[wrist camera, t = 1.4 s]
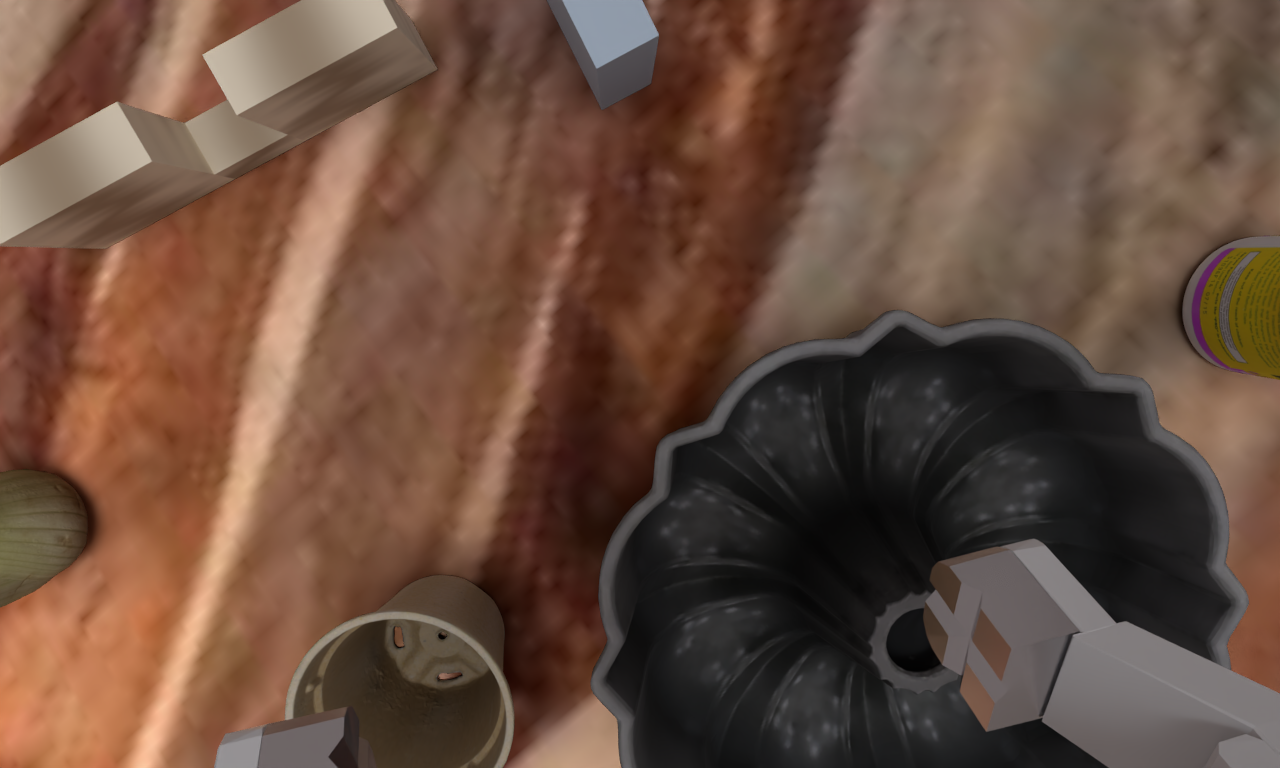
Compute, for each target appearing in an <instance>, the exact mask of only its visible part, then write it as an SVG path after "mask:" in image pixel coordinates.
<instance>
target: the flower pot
mask: <svg viewBox="0 0 1280 768" xmlns="http://www.w3.org/2000/svg"><path fill="white" fill-rule="evenodd" d="M395 626H396V627H401V629H402V634H403V642H404V645H405V646H404V647H402V648H397V647H396V645H395V644H394V627H395ZM441 632H445V633H446V634H447V637H446V638H445V639H440V638H439V637H438V634H439V633H441ZM504 639H505V629H504V623H503V619H502V616H501V614H500V611H499V609H498V607H497V605H496V604H495V602H494V601H493V600H492V598H490V597H489V596H488V595H487V594H486V593H485V592H483V591H482V590H481V589H480V588H478V587H477V586H475V585H474V584H472V583H471V582H469V581H468V580H466V579H463V578H459V577H455V576H447V575H436V576H430V577H425V578H422V579H419V580H417V581H414V582H412V583H411V584H409V585H407V586H406V587H404V588H403V589H402V590H401V591H399V592H398V593H397V594H396V595H395V596H394V597H393V598H392V599H391V600H389V601H388V602H387V603H386V604H385V605H383V606H382V607H381V608H380V609H378V610H377V611H376V612H372V613H368V614H364V615H361V616H358V617H355V618H353V619H351V620H348V621H346V622H344V623H342V624H340V625H339V626H337V627H335V628H334V629H332V630H331V631H330V632H328V633H327V634H326V635H324V636H323V637H322V638H321V639H320V640H319V641H318V642H317V643H316V644H315V645H314V646H313V647H312V648H311V649H310V650H309V651H308V653H307V654H306V655H305V656H304V658H303V659H302V661H301V663H300V664H299V666H298V668H297V669H296V671H295V673H294V676H293V678H292V681H291V684H290V686H289V690H288V694H287V699H286V707H285V720H289V719H293V718H298V717H303V716H307V715H312V714H316V713H321V712H325V711H330V710H334V709H339V708H343V707H348V706H352V707H353V709H354V711H355V713H356V715H357V717H358V719H359V737H361V738H363V739H365V740H368V741H369V744H370V746H371V748H372V751H373V754H374V758H375V762H376V766H377V768H503V766H504V764H505V762H506V761H507V757H508V755H509V751H510V748H511V744H512V739H513V733H514V705H513V700H512V695H511V691H510V688H509V685H508V682H507V680H506V678H505V676H504V673H503V654H504ZM454 672H461V673H462V676H459V677H457V678H456V679H450V680H439V679H437V677H438V675H439V674H440V673H454Z"/></svg>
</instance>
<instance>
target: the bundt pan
mask: <svg viewBox="0 0 1280 768" xmlns="http://www.w3.org/2000/svg"><path fill="white" fill-rule="evenodd" d="M1029 539H1036V540H1038V541H1040V542H1042V543H1043V544H1044V545H1045V546H1046V547H1047V548H1048V549H1049V550H1050V551H1051V552H1052V553H1053V554H1054V556H1055V557H1056V558H1057V559H1058V560H1059V561H1060V562H1061V563H1062V564H1063V565H1064V566H1065V568H1066V569H1067V570H1068V571H1069V572H1070V573H1071V574H1072V575H1073V576H1074V577H1075V578H1076V580H1077V581H1078V582H1079V583H1080V584H1081V585H1082V586H1083V587H1084V588H1085V589H1086V591H1087V592H1088V593H1089V594H1090V595H1091V596H1092V597H1093V598H1094V599H1095V600H1096V601H1097V603H1098V604H1099V605H1100V606H1101V607H1102V608H1103V609H1104V610H1105V611H1106V612H1107V613H1108V615H1109V616H1110V617H1111V618H1112V619H1113V620H1114V621H1115V622H1116V623H1119V622H1124V621H1127V622H1129V623H1131V624H1133V625H1135V626H1137V627H1139V628H1142V629H1144V630H1146V631H1148V632H1150V633H1152V634H1154V635H1156V636H1159V637H1161V638H1163V639H1165V640H1167V641H1169V642H1171V643H1173V644H1176V645H1178V646H1180V647H1182V648H1184V649H1186V650H1188V651H1190V652H1193V653H1195V654H1197V655H1199V656H1201V657H1203V658H1205V659H1207V660H1210V661H1212V662H1214V663H1216V664H1218V665H1220V666H1222V667H1224V668H1227V669H1229V670H1231V664H1230V657H1229V653H1228V649H1227V643H1228V641H1229V638H1230V636H1231V634H1232V633H1233V631H1234V629H1235V628H1236V626H1237V625H1238V623H1239V621H1240V620H1241V618H1242V617H1243V615H1244V613H1245V611H1246V609H1247V607H1248V604H1249V600H1248V595H1247V593H1246V591H1245V589H1244V588H1243V586H1242V585H1241V583H1240V582H1239V581H1238V579H1237V578H1236V577H1235V575H1234V574H1233V573H1232V571H1231V570H1230V569H1229V568H1228V566H1227V564H1226V556H1227V550H1228V543H1229V518H1228V510H1227V506H1226V501H1225V497H1224V494H1223V491H1222V488H1221V486H1220V483H1219V481H1218V479H1217V477H1216V476H1215V474H1214V472H1213V471H1212V469H1211V467H1210V466H1209V464H1208V463H1207V462H1206V460H1205V459H1204V458H1203V457H1202V456H1201V455H1200V454H1199V453H1198V452H1197V450H1196V449H1195V448H1194V447H1192V446H1191V445H1190V444H1188V443H1187V442H1186V441H1184V440H1183V439H1181V438H1180V437H1178V436H1177V435H1175V434H1173V433H1171V432H1170V431H1168V430H1166V429H1164V428H1163V427H1162V426H1161V425H1160V423H1159V418H1158V413H1157V408H1156V404H1155V400H1154V395H1153V392H1152V389H1151V387H1150V385H1149V384H1148V383H1147V382H1146V381H1145V380H1143V379H1142V378H1139V377H1135V376H1130V375H1122V374H1107V373H1098V372H1096V371H1095V370H1094V368H1093V367H1092V366H1091V364H1090V363H1089V362H1088V360H1087V359H1086V358H1085V357H1084V356H1083V355H1082V354H1081V353H1080V352H1079V351H1078V350H1077V349H1076V348H1075V347H1074V346H1072V345H1071V344H1070V343H1069V342H1067V341H1066V340H1064V339H1062V338H1061V337H1059V336H1057V335H1056V334H1054V333H1052V332H1050V331H1048V330H1046V329H1044V328H1042V327H1040V326H1036V325H1033V324H1030V323H1026V322H1023V321H1017V320H1009V319H991V318H990V319H975V320H969V321H965V322H961V323H956V324H953V325H949V326H945V327H938V326H936V325H933V324H931V323H929V322H927V321H925V320H923V319H921V318H919V317H918V316H916V315H914V314H912V313H909V312H907V311H903V310H892V311H888V312H885V313H883V314H882V315H881V316H879V317H878V318H877V319H876V320H874V321H873V322H872V323H870V324H869V325H868V326H867V327H866V328H864V329H862V330H859V331H855V332H852V333H851V334H849V335H848V336H847V337H846V338H843V339H815V340H809V341H804V342H798V343H794V344H791V345H788V346H784V347H782V348H780V349H777V350H775V351H773V352H771V353H768V354H766V355H765V356H763V357H762V358H760V359H759V360H757V361H756V362H754V363H753V364H751V365H750V366H748V367H747V368H746V369H745V370H744V371H742V372H741V373H740V374H739V375H738V376H737V377H736V378H735V379H734V380H733V381H732V382H731V383H730V384H729V386H728V387H727V388H726V390H725V391H724V392H723V394H722V395H721V396H720V398H719V399H718V401H717V402H716V404H715V406H714V408H713V410H712V411H711V413H710V415H709V417H708V418H707V419H706V420H705V421H704V422H701V423H698V424H694V425H691V426H687V427H684V428H681V429H678V430H677V431H675V432H672V433H670V434H668V435H666V436H665V437H664V438H663V439H661V440H660V442H659V444H658V445H657V448H656V455H655V463H654V477H653V484H652V488H651V490H650V491H649V492H648V494H647V495H645V496H644V497H643V498H642V499H640V500H639V501H638V502H637V503H635V504H634V505H633V506H632V508H631V509H630V510H629V511H628V512H627V513H626V515H625V516H624V517H623V518H622V520H621V522H620V523H619V525H618V526H617V528H616V529H615V531H614V532H613V534H612V536H611V539H610V541H609V543H608V545H607V548H606V551H605V554H604V557H603V560H602V565H601V571H600V577H599V593H598V598H599V606H600V614H601V618H602V622H603V626H604V629H605V632H606V635H607V638H608V641H607V643H606V645H605V648H604V650H603V652H602V654H601V656H600V657H599V659H598V661H597V663H596V665H595V667H594V669H593V672H592V678H591V689H592V691H593V694H594V695H595V696H596V697H597V698H598V699H599V700H600V702H601V703H602V704H603V705H604V706H605V707H606V708H607V709H608V710H609V711H610V712H611V713H612V714H613V715H614V716H615V717H616V719H617V722H618V746H619V757H620V763H621V767H622V768H1109V767H1107V766H1106V765H1104V764H1103V763H1101V762H1100V761H1099V760H1097V759H1096V758H1094V757H1093V756H1091V755H1090V754H1088V753H1087V752H1085V751H1084V750H1083V749H1081V748H1080V747H1078V746H1077V745H1075V744H1074V743H1072V742H1071V741H1069V740H1068V739H1067V738H1065V737H1064V736H1062V735H1061V734H1059V733H1058V732H1056V731H1055V730H1054V729H1052V728H1051V727H1049V726H1048V725H1046V724H1045V723H1043V722H1042V719H1043V718H1040V719H1036V720H1032V721H1028V722H1024V723H1020V724H1016V725H1012V726H1008V727H1004V728H1000V729H996V730H992V731H988V732H986V731H985V729H984V728H983V726H982V725H981V723H980V722H979V720H978V719H977V717H976V716H975V714H974V713H973V711H972V709H971V708H970V706H969V705H968V703H967V702H966V700H965V699H964V697H963V696H962V694H961V693H960V680H961V675H959V674H957V673H956V672H954V671H952V670H950V669H949V668H947V667H945V666H943V665H942V664H941V662H940V660H939V659H938V657H937V656H936V654H935V652H934V651H933V649H932V647H931V644H930V642H929V640H928V638H927V635H926V630H925V625H924V620H923V614H924V607H925V601H926V600H927V599H928V598H929V597H930V595H931V594H932V593H933V592H934V591H935V590H936V589H935V587H934V586H933V584H932V583H931V582H930V576H931V571H932V568H933V567H934V565H935V564H936V563H937V562H939V561H943V560H947V559H950V558H954V557H958V556H962V555H966V554H970V553H973V552H977V551H981V550H985V549H989V548H993V547H1001V546H1005V545H1009V544H1013V543H1016V542H1020V541H1024V540H1029Z"/></svg>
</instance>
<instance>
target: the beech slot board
mask: <svg viewBox="0 0 1280 768" xmlns="http://www.w3.org/2000/svg"><path fill="white" fill-rule="evenodd" d="M203 57H204V59H205V60H206V62H207V64H208V66H209V67H210V69H211V71H212V73H213V74H214V76H215V78H216V80H217V81H218V83H219V85H220V87H221V88H222V90H223V92H224V94H225V95H226V97H227V99H228V100H226V101H224V102H222V103H221V104H219V105H217V106H215V107H213V108H211V109H210V110H208V111H206V112H204V113H202V114H201V115H199V116H197V117H195V118H193V119H191V120H190V121H188V122H186V123H183V122H179V121H176V120H173V119H170V118H167V117H164V116H160V115H157V114H154V113H151V112H148V111H145V110H141V109H138V108H135V107H132V106H129V105H126V104H122V103H119V102H116V103H114V104H112V105H110V106H108V107H107V108H105V109H103V110H101V111H99V112H97V113H96V114H94V115H92V116H90V117H88V118H87V119H85V120H83V121H81V122H79V123H77V124H76V125H74V126H72V127H70V128H68V129H67V130H65V131H63V132H61V133H59V134H58V135H56V136H54V137H52V138H50V139H48V140H47V141H45V142H43V143H41V144H39V145H38V146H36V147H34V148H32V149H30V150H28V151H27V152H25V153H23V154H21V155H19V156H18V157H16V158H14V159H12V160H10V161H8V162H7V163H5V164H3V165H1V166H0V246H11V247H53V248H96V249H106V248H108V247H110V246H112V245H114V244H116V243H118V242H119V241H121V240H123V239H125V238H127V237H129V236H131V235H132V234H134V233H136V232H138V231H140V230H142V229H143V228H145V227H147V226H149V225H151V224H153V223H155V222H156V221H158V220H160V219H162V218H164V217H166V216H167V215H169V214H171V213H173V212H175V211H177V210H179V209H180V208H182V207H184V206H186V205H188V204H190V203H192V202H193V201H195V200H197V199H199V198H201V197H203V196H204V195H206V194H208V193H210V192H212V191H214V190H216V189H217V188H219V187H221V186H223V185H225V184H227V183H229V182H230V181H232V180H234V179H236V178H238V177H240V176H241V175H243V174H245V173H247V172H249V171H251V170H253V169H254V168H256V167H258V166H260V165H262V164H264V163H265V162H267V161H269V160H271V159H273V158H275V157H277V156H278V155H280V154H282V153H284V152H286V151H288V150H290V149H291V148H293V147H295V146H297V145H299V144H301V143H302V142H304V141H306V140H308V139H310V138H312V137H314V136H315V135H317V134H319V133H321V132H323V131H325V130H327V129H328V128H330V127H332V126H334V125H336V124H338V123H339V122H341V121H343V120H345V119H347V118H349V117H351V116H352V115H354V114H356V113H358V112H360V111H362V110H363V109H365V108H367V107H369V106H371V105H373V104H375V103H376V102H378V101H380V100H382V99H384V98H386V97H388V96H389V95H391V94H393V93H395V92H397V91H399V90H400V89H402V88H404V87H406V86H408V85H410V84H412V83H413V82H415V81H417V80H419V79H421V78H423V77H425V76H426V75H428V74H430V73H432V72H434V71H436V70H437V67H436V65H435V64H434V62H433V60H432V58H431V56H430V54H429V52H428V50H427V48H426V47H425V45H424V43H423V41H422V39H421V37H420V35H419V33H418V31H417V29H416V28H415V26H414V24H413V22H412V20H411V18H410V17H409V16H408V15H407V14H406V13H405V12H404V10H403V9H402V8H401V7H400V6H399V5H398V4H397V2H396V1H395V0H301V1H299V2H297V3H296V4H294V5H292V6H290V7H288V8H286V9H285V10H283V11H281V12H279V13H277V14H276V15H274V16H272V17H270V18H268V19H266V20H265V21H263V22H261V23H259V24H257V25H256V26H254V27H252V28H250V29H248V30H246V31H245V32H243V33H241V34H239V35H237V36H236V37H234V38H232V39H230V40H228V41H227V42H225V43H223V44H221V45H219V46H217V47H216V48H214V49H212V50H210V51H208V52H207V53H205V54H203Z"/></svg>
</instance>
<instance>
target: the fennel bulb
mask: <svg viewBox="0 0 1280 768" xmlns="http://www.w3.org/2000/svg"><path fill="white" fill-rule="evenodd" d="M87 532H88V515H87V512H86V508H85V506H84V504H83V501H82V499H81V497H80V496H79V495H78V493H77V492H76V491H75V489H74V488H73V487H72V486H71V485H69V484H68V483H67V482H66V481H64V480H63V479H61V478H60V477H58V476H57V475H55V474H52V473H48V472H42V471H35V470H29V469H23V470H11V471H6V472H1V473H0V607H2V606H5V605H7V604H9V603H12V602H14V601H16V600H18V599H20V598H22V597H23V596H26V595H28V594H30V593H32V592H34V591H35V590H37V589H38V588H40V587H41V586H43V585H44V584H46V583H47V582H48V581H49V580H50V579H52V578H53V577H54V576H55V575H57V574H58V573H60V572H61V571H63V570H64V569H66V568H67V567H69V566H70V565H71V564H72V563H73V562H74V561H75V560H76V559H77V558H78V556H79V555H80V554H81V552H82V551H83V548H84V546H85V545H86V542H87Z"/></svg>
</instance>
